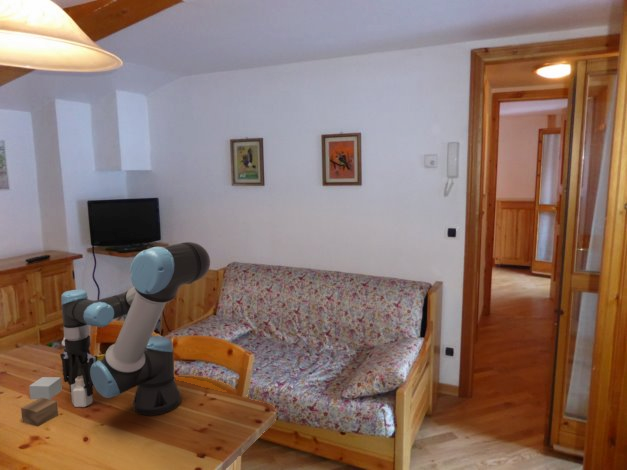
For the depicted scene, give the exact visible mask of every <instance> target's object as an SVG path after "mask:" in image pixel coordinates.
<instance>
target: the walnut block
mask: <svg viewBox="0 0 627 470" xmlns="http://www.w3.org/2000/svg"><path fill="white" fill-rule="evenodd" d="M58 409H59V408H58V401H57V400H53V399H50V400H49V399H45V398H40V399H35V400H34V401H32V402H30V403H28V404H26V405H24V406H22V407H20V412H21V420H22V423H24V424H28V425H30V426H34V427H40V426H42V425H44V424H45V423H47V422H49V421H51V420H53V419H54V418H56V417H58V416H59V411H58Z"/></svg>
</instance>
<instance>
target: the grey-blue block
mask: <svg viewBox="0 0 627 470" xmlns="http://www.w3.org/2000/svg"><path fill="white" fill-rule="evenodd" d="M62 386H63V385H62V377H61V376H60V377H55V376H54V377H53V376H42V377H40V378H38V379H37V380H36V381H35V382H32V383H31V384H30V385H29V387H28V390H29V399H30V400H38V399H40V398H45V399H49V400H52V399H53V398H54V397H55V396H57V395H58V394H59V393H60V392H62V391H63V387H62Z"/></svg>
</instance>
